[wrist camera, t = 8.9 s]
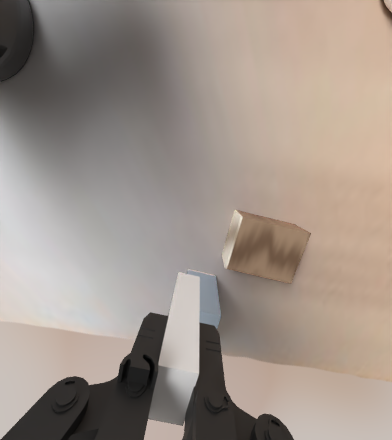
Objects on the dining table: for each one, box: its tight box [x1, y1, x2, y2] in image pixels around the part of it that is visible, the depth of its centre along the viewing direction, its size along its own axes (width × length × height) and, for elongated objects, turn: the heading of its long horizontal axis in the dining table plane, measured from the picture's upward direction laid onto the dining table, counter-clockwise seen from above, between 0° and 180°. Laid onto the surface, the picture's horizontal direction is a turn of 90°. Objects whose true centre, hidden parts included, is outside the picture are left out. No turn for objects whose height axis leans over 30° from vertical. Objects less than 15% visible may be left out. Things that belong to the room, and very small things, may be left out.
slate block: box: [187, 269, 221, 329], centre depth 30 cm, size 8×5×10 cm, turn 167°
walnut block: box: [222, 210, 311, 284], centre depth 30 cm, size 8×5×10 cm
